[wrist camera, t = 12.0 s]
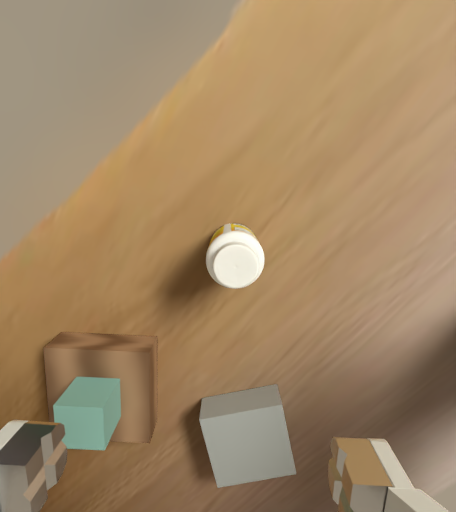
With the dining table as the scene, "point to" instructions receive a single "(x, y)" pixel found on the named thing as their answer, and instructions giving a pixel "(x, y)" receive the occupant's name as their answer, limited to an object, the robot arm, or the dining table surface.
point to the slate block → (246, 436)
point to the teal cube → (89, 412)
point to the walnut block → (109, 375)
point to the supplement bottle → (234, 256)
